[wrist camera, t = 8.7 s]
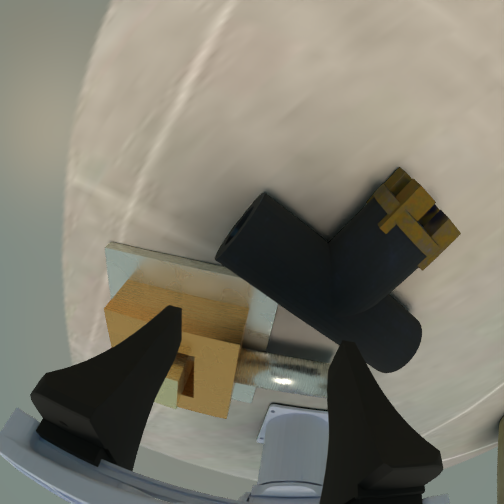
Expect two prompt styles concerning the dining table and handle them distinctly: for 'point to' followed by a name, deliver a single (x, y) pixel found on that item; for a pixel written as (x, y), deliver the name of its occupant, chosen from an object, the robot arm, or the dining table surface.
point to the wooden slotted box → (207, 327)
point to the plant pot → (500, 464)
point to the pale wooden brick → (175, 381)
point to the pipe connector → (345, 266)
